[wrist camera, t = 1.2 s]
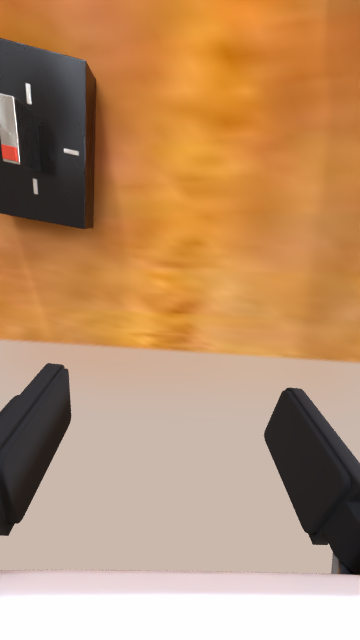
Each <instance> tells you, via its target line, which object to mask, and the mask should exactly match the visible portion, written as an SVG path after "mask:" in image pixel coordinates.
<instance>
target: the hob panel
mask: <svg viewBox="0 0 360 640" xmlns="http://www.w3.org/2000/svg"><path fill="white" fill-rule="evenodd" d="M0 94H4V95H8V96H12V97H14V98H16V99H17V100H18V101H19V102H21V103H22V104H23V105H25V106H26V107H27V108H29V109H30V110H31V111H32V112H34V113H35V114H36V115H38V124H39V140H40V156H41V172H37V171H32V170H28V169H25V168H22V167H19V166H16V165H13V164H10V163H7V162H4V161H3V156H2V148H1V137H0V213H1V214H7V215H12V216H17V217H23V218H28V219H33V220H39V221H44V222H49V223H55V224H60V225H65V226H71V227H76V228H82V229H89V228H93V207H94V157H95V106H96V79H95V77H94V75H93V73H92V72H91V70H90V68H89V66H88V64H87V62H86V61H85V60H81V59H78V58H74V57H70V56H66V55H63V54H59V53H55V52H51V51H47V50H44V49H40V48H36V47H32V46H28V45H25V44H21V43H17V42H13V41H10V40H6V39H2V38H0Z"/></svg>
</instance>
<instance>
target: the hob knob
mask: <svg viewBox="0 0 360 640" xmlns="http://www.w3.org/2000/svg"><path fill="white" fill-rule="evenodd" d="M0 137H1V148H2V156H3V161H4V162H7V163H10V164H13V165H16V166H19V167H22V168H25V169H28V170H32V171H37V172H41V156H40V140H39V124H38V115H36V114H35V113H34V112H32V111H31V110H30V109H29V108H27V107H26V106H25V105H23V104H22V103H21V102H19V101H18V100H17V99H16V98H14V97H12V96H8V95H4V94H0Z"/></svg>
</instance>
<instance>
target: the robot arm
mask: <svg viewBox="0 0 360 640" xmlns="http://www.w3.org/2000/svg"><path fill="white" fill-rule="evenodd" d="M69 390H70V389H69V373H68V369H64V366H63V365H60V364H50V363H48V364H46V365H45V366H44V368H43V369H42V370H41V371H40V372H39V373H38V374H37V376H36V377H35V378H34V379H33V380H32V381H31V383H30V384H29V385H28V386H27V387H26V388H25V389H24V391H23V392H22V393H21V394H20V395H17V396H15V397H14V398H13V399H11V400H10V402H9V403H8V404H7V405H6V406H5V407H4V408H3V409H2V411H1V412H0V535H4V536H8V535H9V533H10V531H11V529H12V528H13V526H14V524H15V523H19V522H20V521H21V520H22V519H23V516H24V515H25V513H26V511H27V509H28V507H29V505H30V503H31V501H32V499H33V497H34V495H35V493H36V490H37V489H38V487H39V484H40V482H41V481H42V479H43V477H44V475H45V473H46V471H47V469H48V467H49V465H50V463H51V460H52V459H53V456H54V455H55V453H56V451H57V448H58V446H59V444H60V442H61V440H62V438H63V436H64V434H65V432H66V430H67V428H68V426H69V424H70V421H71V405H70V391H69ZM264 437H265V441H266V444H267V446H268V448H269V451H270V453H271V455H272V458H273V460H274V462H275V465H276V467H277V469H278V472H279V474H280V476H281V479H282V481H283V483H284V486H285V488H286V490H287V492H288V495H289V497H290V500H291V502H292V504H293V507H294V509H295V512H296V514H297V516H298V518H299V521H300V523H301V526H302V528H303V529H304V531H305V532H306V533H308V534H309V537H310V539H311V541H312V543H313V545H315V544H316V545H328V543H329V545H330V547H331V549H332V551H333V559H332V571H331V574H313V573H312V574H311V573H267V572H266V573H265V572H210V571H209V572H208V571H140V570H139V571H138V570H137V571H136V570H4V571H2V570H0V640H360V463H359V462H358V460H357V459H356V458H355V456H354V455H353V454H352V453H351V451H350V450H349V449H348V448H347V446H346V445H345V444H344V443H343V441H342V440H341V438H340V437H339V436H338V435H337V433H336V432H335V431H334V429H333V428H332V427H331V426H330V424H329V423H328V422H327V421H326V419H325V418H324V417H323V415H322V414H321V413H320V411H319V410H318V409H317V408H316V406H315V405H314V404H313V402H312V401H311V400H310V399H309V397H308V396H307V395H306V393H305V392H304V391H303V390H302V389H297V388H287V389H286V390H285V391H283V392H282V393H281V396H280V398H279V400H278V403H277V405H276V407H275V409H274V411H273V414H272V416H271V418H270V421H269V423H268V425H267V427H266V430H265V433H264Z"/></svg>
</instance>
